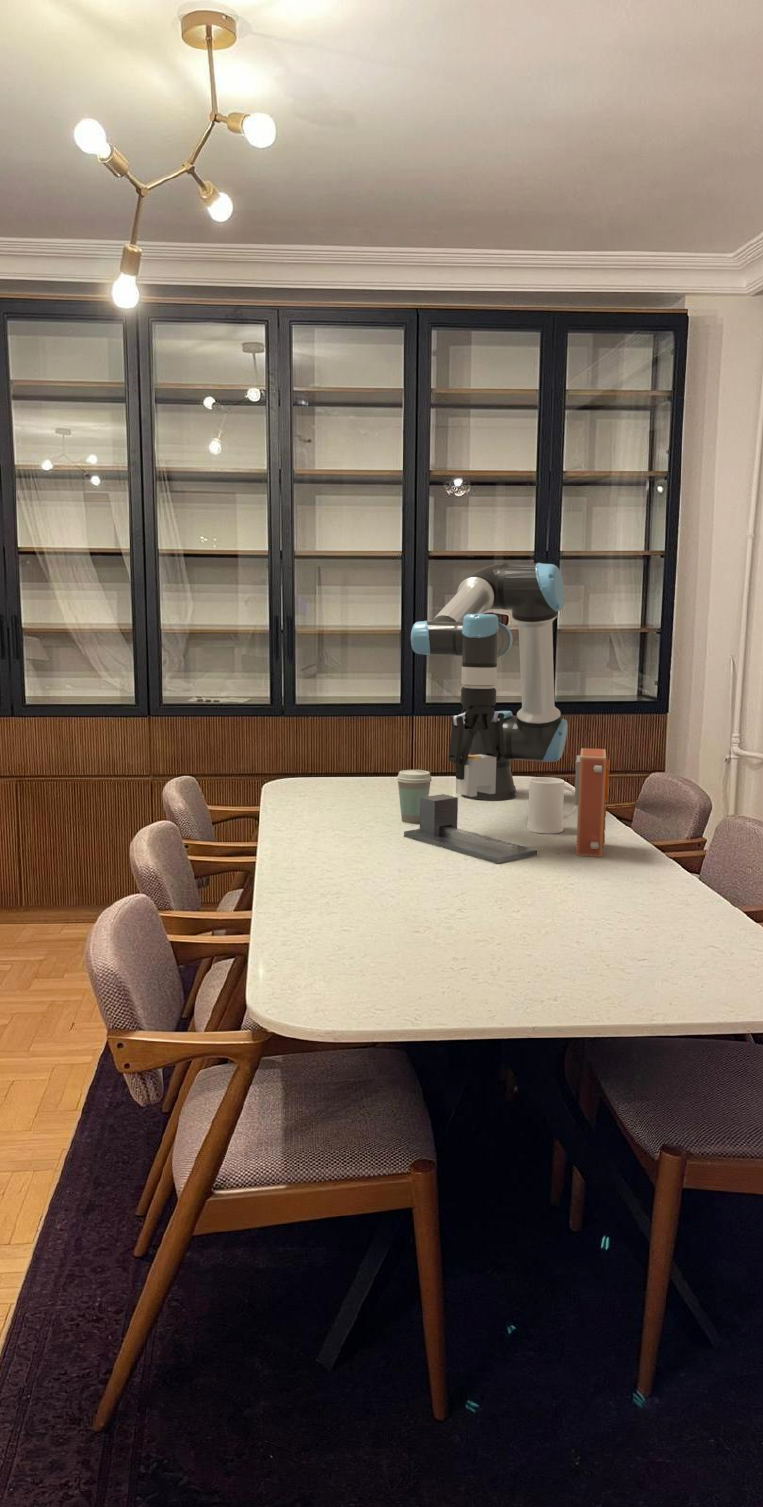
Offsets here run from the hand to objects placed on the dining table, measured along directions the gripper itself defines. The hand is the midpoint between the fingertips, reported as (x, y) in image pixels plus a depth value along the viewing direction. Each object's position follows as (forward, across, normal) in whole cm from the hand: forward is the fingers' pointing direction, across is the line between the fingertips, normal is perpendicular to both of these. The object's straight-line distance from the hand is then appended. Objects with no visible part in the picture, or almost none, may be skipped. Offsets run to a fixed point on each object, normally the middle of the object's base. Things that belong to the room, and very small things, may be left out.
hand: (475, 792), depth 225 cm
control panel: (+12, -19, +16) cm, 28 cm away
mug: (+12, -27, -2) cm, 30 cm away
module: (0, 0, 0) cm, 0 cm away
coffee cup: (+12, -7, -29) cm, 32 cm away
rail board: (+12, 0, -2) cm, 13 cm away
